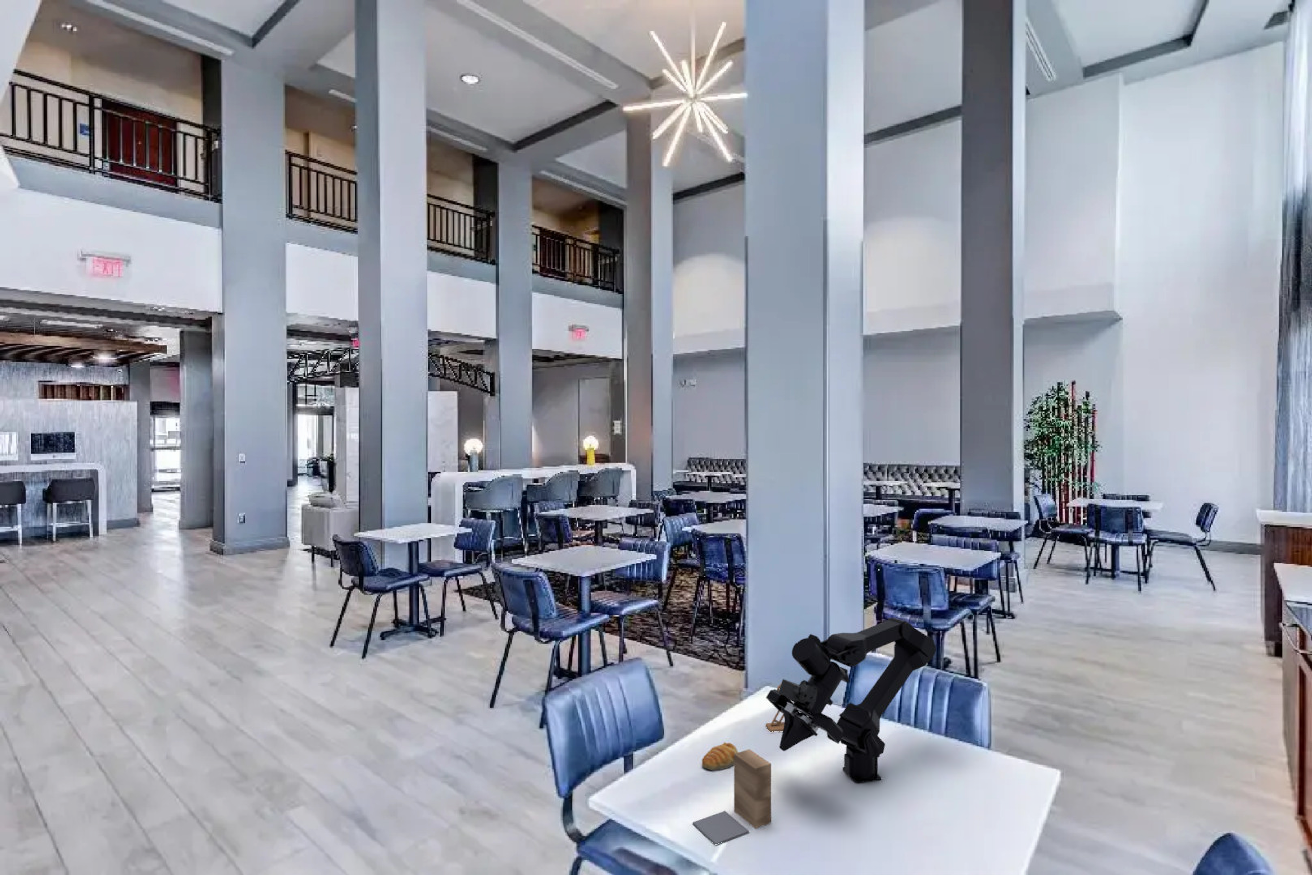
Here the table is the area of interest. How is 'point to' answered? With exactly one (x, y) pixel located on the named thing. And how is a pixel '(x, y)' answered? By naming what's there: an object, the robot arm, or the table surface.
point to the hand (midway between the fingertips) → (781, 749)
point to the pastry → (720, 757)
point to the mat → (720, 827)
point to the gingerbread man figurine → (779, 725)
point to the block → (752, 788)
